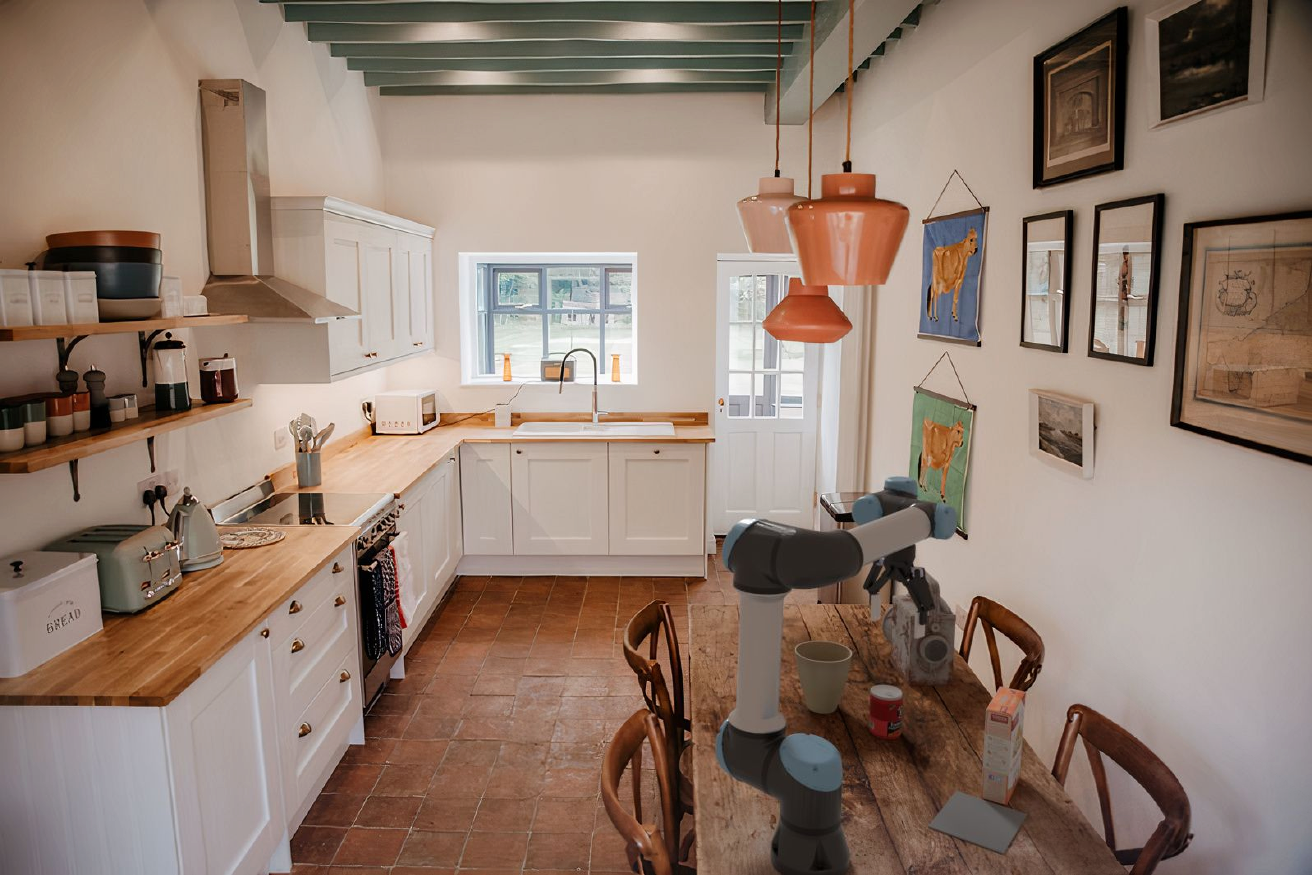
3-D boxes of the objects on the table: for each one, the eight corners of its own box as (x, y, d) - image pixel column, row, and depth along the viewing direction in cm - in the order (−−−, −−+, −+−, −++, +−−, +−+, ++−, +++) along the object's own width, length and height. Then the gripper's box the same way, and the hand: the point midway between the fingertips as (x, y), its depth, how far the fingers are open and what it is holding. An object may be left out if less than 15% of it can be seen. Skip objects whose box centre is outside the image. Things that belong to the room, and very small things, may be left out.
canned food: (892, 743, 215) (893, 700, 213) (863, 732, 220) (864, 691, 219) (907, 731, 220) (908, 690, 219) (878, 722, 226) (879, 681, 224)
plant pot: (852, 722, 226) (853, 663, 223) (793, 718, 228) (794, 660, 226) (849, 697, 240) (850, 641, 238) (794, 693, 243) (795, 638, 240)
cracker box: (1009, 807, 187) (1014, 715, 184) (979, 799, 190) (984, 708, 187) (1022, 777, 199) (1027, 690, 195) (994, 770, 202) (998, 684, 199)
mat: (1003, 854, 171) (1003, 852, 171) (928, 827, 180) (928, 825, 180) (1027, 815, 184) (1027, 814, 184) (956, 791, 193) (956, 790, 193)
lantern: (928, 651, 271) (931, 557, 266) (961, 689, 244) (965, 585, 240) (877, 652, 270) (880, 558, 266) (905, 690, 244) (908, 587, 239)
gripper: (953, 551, 199) (949, 640, 202) (871, 528, 219) (869, 610, 223) (931, 557, 195) (928, 648, 198) (849, 533, 215) (847, 616, 219)
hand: (896, 628), depth 210 cm, fingers open, 13 cm apart
